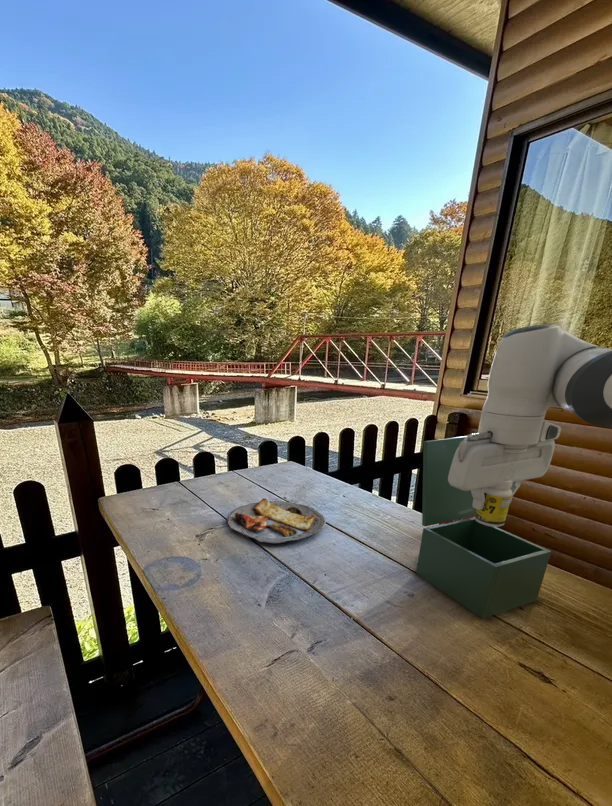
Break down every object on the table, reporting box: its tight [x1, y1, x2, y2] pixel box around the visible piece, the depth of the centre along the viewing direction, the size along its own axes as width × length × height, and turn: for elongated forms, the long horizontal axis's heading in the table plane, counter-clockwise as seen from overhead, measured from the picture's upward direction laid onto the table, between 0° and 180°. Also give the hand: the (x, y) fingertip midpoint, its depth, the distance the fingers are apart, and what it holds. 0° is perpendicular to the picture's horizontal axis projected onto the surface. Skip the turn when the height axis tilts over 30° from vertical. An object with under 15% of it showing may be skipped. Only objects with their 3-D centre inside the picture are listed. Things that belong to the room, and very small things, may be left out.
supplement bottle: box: [475, 480, 513, 528], centre depth 72 cm, size 5×5×8 cm
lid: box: [421, 435, 476, 527], centre depth 80 cm, size 16×14×1 cm
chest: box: [415, 517, 552, 619], centre depth 77 cm, size 16×14×11 cm
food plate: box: [226, 498, 327, 544], centre depth 106 cm, size 25×23×4 cm
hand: (491, 505), depth 73 cm, fingers closed on supplement bottle, 4 cm apart
